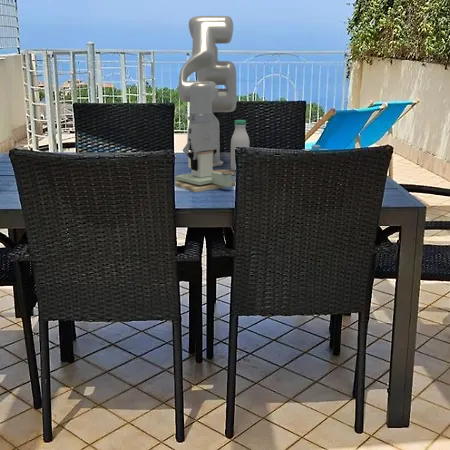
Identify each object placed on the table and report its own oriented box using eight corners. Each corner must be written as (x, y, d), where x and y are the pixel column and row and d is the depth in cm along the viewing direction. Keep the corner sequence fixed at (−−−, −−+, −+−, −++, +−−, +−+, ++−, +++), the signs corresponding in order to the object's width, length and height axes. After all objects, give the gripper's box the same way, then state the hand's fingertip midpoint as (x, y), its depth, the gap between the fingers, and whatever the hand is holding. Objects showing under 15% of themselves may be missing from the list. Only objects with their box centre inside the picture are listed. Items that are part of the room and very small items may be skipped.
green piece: (214, 189, 208) (214, 176, 206) (174, 179, 223) (174, 167, 222) (244, 183, 217) (244, 170, 215) (204, 174, 232) (204, 162, 231)
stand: (168, 183, 225) (167, 179, 225) (208, 177, 235) (208, 173, 235) (194, 192, 211) (194, 187, 211) (236, 185, 221) (236, 181, 221)
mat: (197, 173, 243) (197, 171, 243) (222, 169, 250) (222, 168, 250) (215, 178, 234) (215, 176, 233) (240, 174, 240) (240, 173, 240)
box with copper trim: (200, 177, 219) (200, 152, 216) (186, 174, 225) (186, 149, 222) (213, 175, 223) (213, 150, 220) (198, 171, 229) (198, 147, 226)
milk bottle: (247, 171, 246) (248, 121, 240) (229, 171, 247) (228, 121, 242) (251, 168, 253) (251, 119, 247) (232, 167, 254) (232, 118, 249)
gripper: (186, 121, 209) (187, 173, 214) (227, 117, 219) (227, 167, 224) (174, 119, 215) (176, 170, 220) (215, 115, 225) (215, 164, 230)
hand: (201, 168), depth 222 cm, fingers closed on box with copper trim, 5 cm apart
